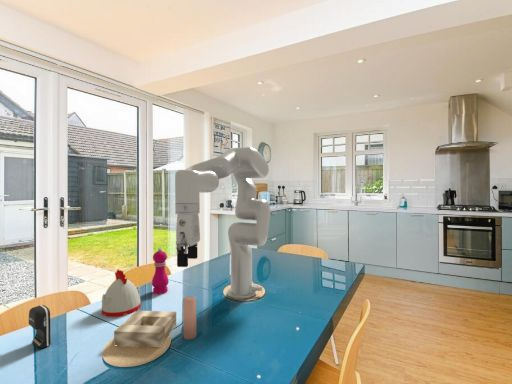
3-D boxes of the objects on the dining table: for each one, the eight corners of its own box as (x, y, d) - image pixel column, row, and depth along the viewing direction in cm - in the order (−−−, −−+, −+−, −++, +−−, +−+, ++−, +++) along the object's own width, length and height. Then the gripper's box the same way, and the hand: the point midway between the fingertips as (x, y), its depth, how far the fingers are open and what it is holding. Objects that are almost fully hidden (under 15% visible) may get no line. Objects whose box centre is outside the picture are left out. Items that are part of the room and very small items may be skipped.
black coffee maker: (27, 344, 86) (27, 307, 86) (42, 338, 89) (42, 302, 89) (36, 352, 82) (35, 313, 82) (51, 345, 85) (50, 308, 85)
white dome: (130, 298, 120) (129, 263, 120) (147, 307, 112) (146, 269, 111) (95, 310, 110) (94, 271, 109) (111, 320, 101) (110, 279, 100)
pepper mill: (163, 295, 124) (163, 250, 123) (148, 294, 125) (148, 249, 125) (171, 289, 131) (171, 246, 130) (157, 288, 132) (156, 245, 132)
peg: (197, 333, 92) (197, 296, 92) (194, 339, 88) (193, 301, 88) (185, 332, 92) (185, 296, 92) (181, 339, 88) (181, 301, 88)
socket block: (176, 324, 98) (176, 311, 98) (159, 347, 84) (159, 332, 84) (137, 323, 99) (137, 310, 99) (114, 346, 85) (114, 331, 85)
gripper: (190, 211, 81) (190, 270, 81) (206, 206, 98) (206, 255, 98) (165, 211, 81) (165, 270, 82) (185, 206, 99) (185, 255, 99)
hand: (187, 262), depth 90 cm, fingers open, 9 cm apart
